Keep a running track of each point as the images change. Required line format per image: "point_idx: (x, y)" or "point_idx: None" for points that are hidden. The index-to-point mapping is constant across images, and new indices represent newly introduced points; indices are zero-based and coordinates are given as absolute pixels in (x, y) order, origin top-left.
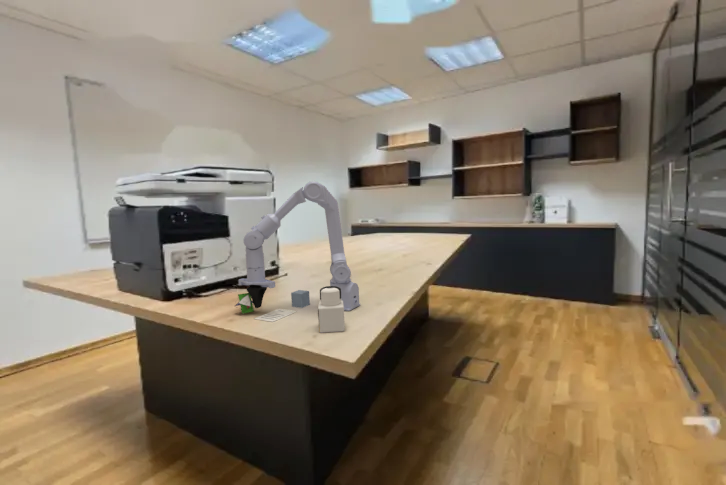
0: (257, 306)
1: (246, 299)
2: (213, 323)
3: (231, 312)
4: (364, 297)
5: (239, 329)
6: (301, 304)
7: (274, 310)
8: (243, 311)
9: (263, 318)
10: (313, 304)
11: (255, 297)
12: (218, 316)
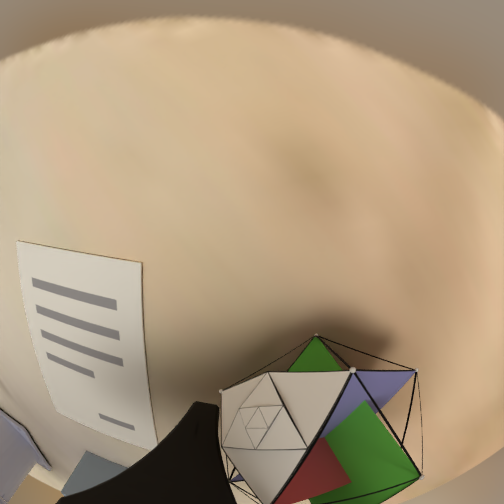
0: (189, 414)
1: (253, 440)
2: (390, 82)
3: (427, 347)
4: (50, 484)
5: (103, 51)
6: (82, 461)
7: (151, 429)
8: (315, 358)
9: (84, 283)
10: None
11: (147, 466)
12: (465, 243)
